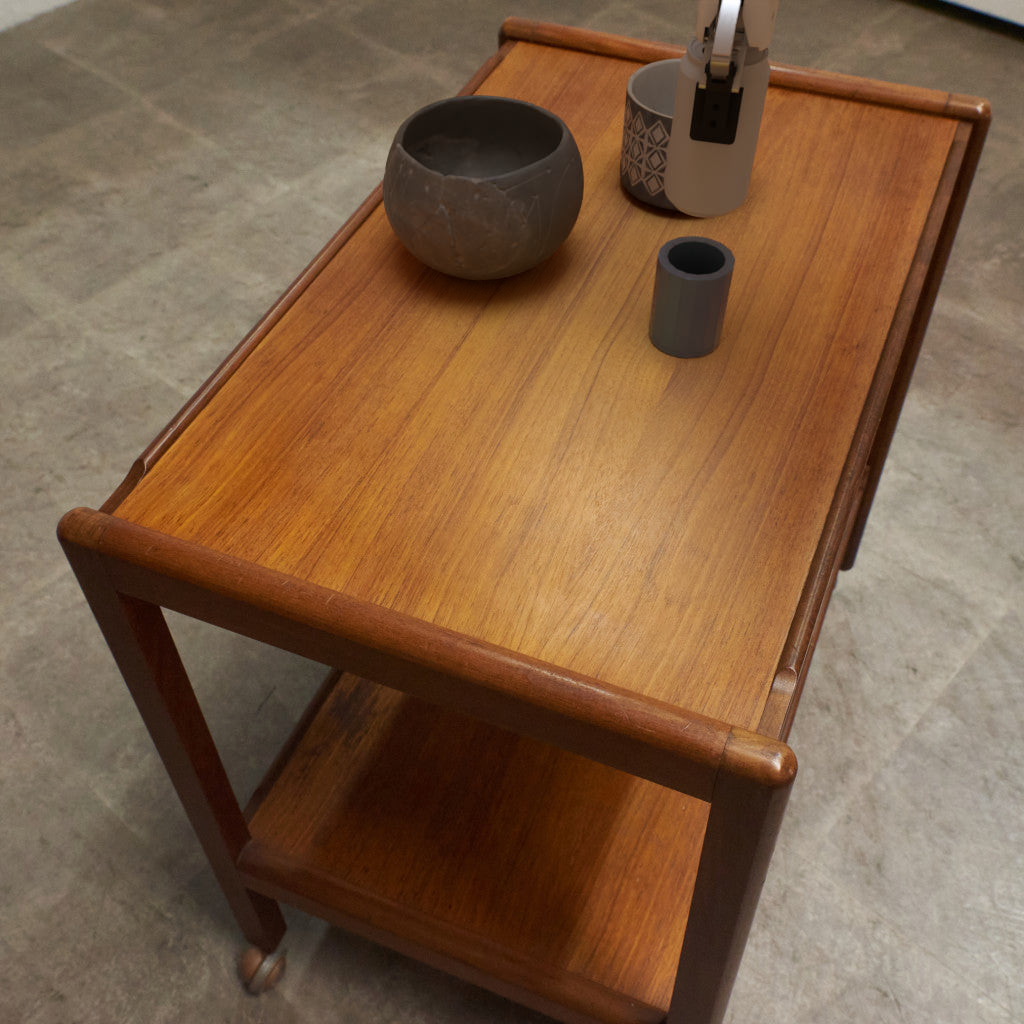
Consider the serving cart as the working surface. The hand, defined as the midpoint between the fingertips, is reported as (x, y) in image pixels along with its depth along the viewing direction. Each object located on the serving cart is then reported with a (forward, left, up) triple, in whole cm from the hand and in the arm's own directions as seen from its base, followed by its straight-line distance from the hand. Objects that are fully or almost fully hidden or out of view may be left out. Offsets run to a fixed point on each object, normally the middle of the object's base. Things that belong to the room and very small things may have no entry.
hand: (718, 114), depth 78 cm
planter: (+4, -24, -20) cm, 32 cm away
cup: (0, 0, -20) cm, 20 cm away
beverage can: (0, 0, -7) cm, 7 cm away
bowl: (+20, -7, -20) cm, 29 cm away
